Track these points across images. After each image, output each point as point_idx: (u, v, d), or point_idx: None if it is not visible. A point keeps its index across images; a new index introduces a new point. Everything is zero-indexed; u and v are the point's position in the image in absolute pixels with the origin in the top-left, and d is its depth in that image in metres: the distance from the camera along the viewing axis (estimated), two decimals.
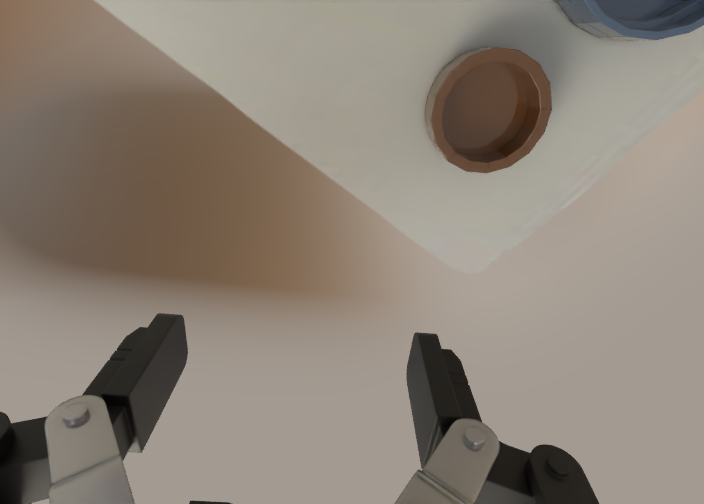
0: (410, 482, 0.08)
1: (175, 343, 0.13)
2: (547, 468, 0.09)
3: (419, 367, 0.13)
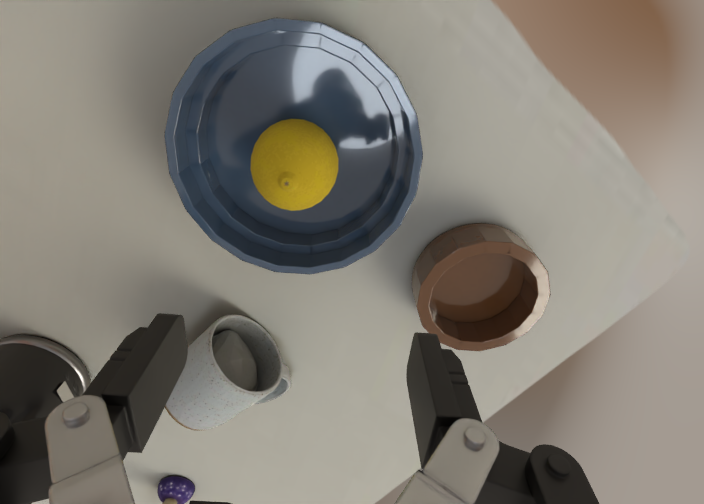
0: (410, 482, 0.08)
1: (175, 343, 0.13)
2: (547, 468, 0.09)
3: (419, 367, 0.13)
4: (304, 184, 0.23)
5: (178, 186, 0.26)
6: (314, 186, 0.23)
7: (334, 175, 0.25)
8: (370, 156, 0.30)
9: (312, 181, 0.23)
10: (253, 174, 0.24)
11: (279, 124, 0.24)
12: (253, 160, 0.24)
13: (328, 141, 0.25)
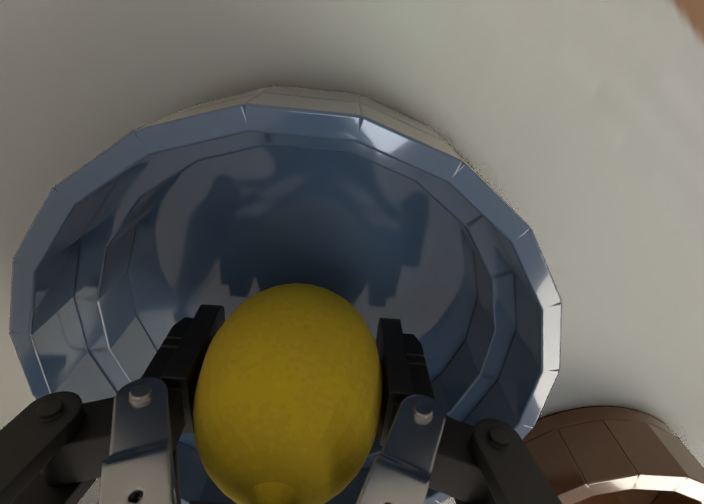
0: (372, 467, 0.08)
1: None
2: (488, 439, 0.10)
3: (381, 350, 0.13)
4: (313, 497, 0.10)
5: None
6: (336, 488, 0.10)
7: (377, 426, 0.11)
8: (430, 317, 0.16)
9: (332, 485, 0.10)
10: (196, 447, 0.10)
11: (257, 327, 0.11)
12: (196, 418, 0.10)
13: (365, 356, 0.11)
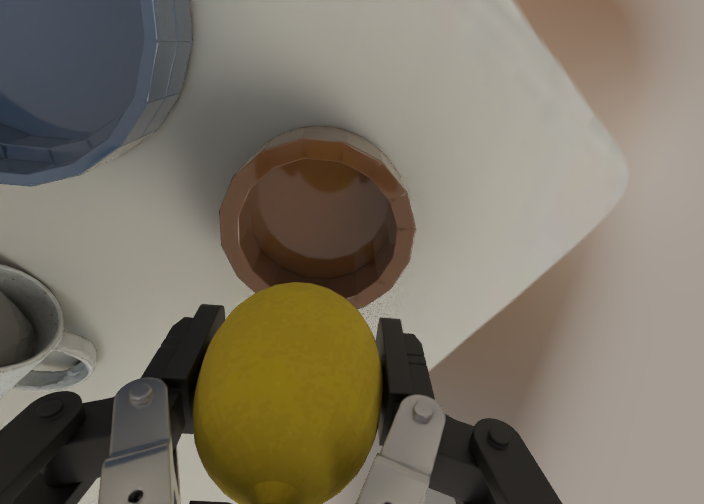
0: (372, 467, 0.08)
1: None
2: (488, 439, 0.10)
3: (381, 350, 0.13)
4: (313, 496, 0.09)
5: None
6: (336, 488, 0.10)
7: (377, 426, 0.11)
8: (126, 6, 0.19)
9: (332, 484, 0.10)
10: (196, 446, 0.10)
11: (257, 326, 0.11)
12: (195, 417, 0.10)
13: (366, 355, 0.11)
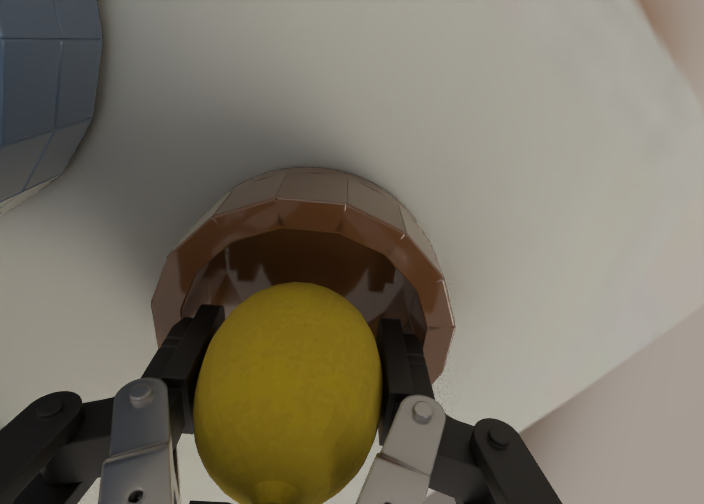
0: (372, 467, 0.08)
1: None
2: (488, 439, 0.10)
3: (381, 350, 0.13)
4: (314, 495, 0.10)
5: None
6: (337, 487, 0.10)
7: (377, 425, 0.11)
8: None
9: (333, 483, 0.10)
10: (196, 445, 0.10)
11: (257, 326, 0.11)
12: (196, 417, 0.10)
13: (366, 354, 0.11)
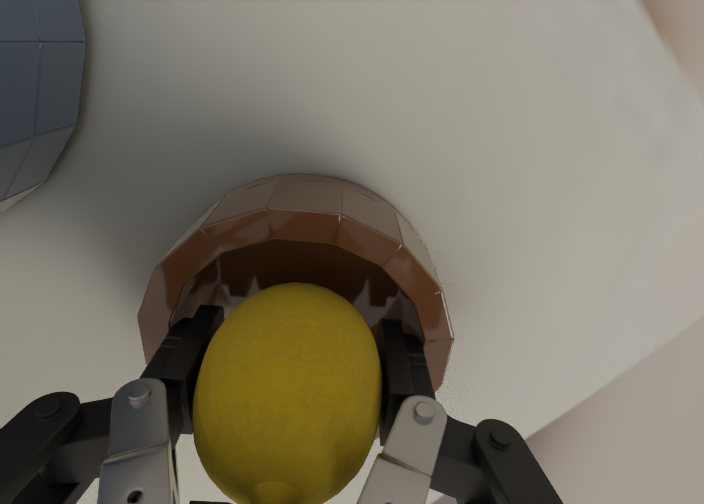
0: (373, 467, 0.08)
1: None
2: (489, 439, 0.10)
3: (382, 350, 0.13)
4: (313, 496, 0.09)
5: None
6: (336, 488, 0.10)
7: (377, 426, 0.11)
8: None
9: (332, 484, 0.10)
10: (195, 446, 0.10)
11: (257, 326, 0.11)
12: (195, 418, 0.10)
13: (365, 355, 0.11)
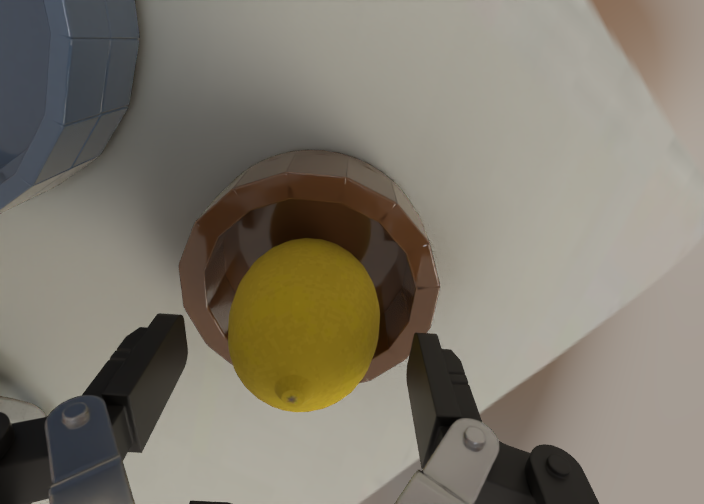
0: (410, 482, 0.08)
1: (175, 343, 0.13)
2: (547, 468, 0.09)
3: (419, 367, 0.13)
4: (324, 391, 0.12)
5: None
6: (342, 388, 0.13)
7: (375, 348, 0.14)
8: None
9: (339, 383, 0.12)
10: (231, 358, 0.13)
11: (279, 265, 0.13)
12: (231, 334, 0.13)
13: (366, 290, 0.14)
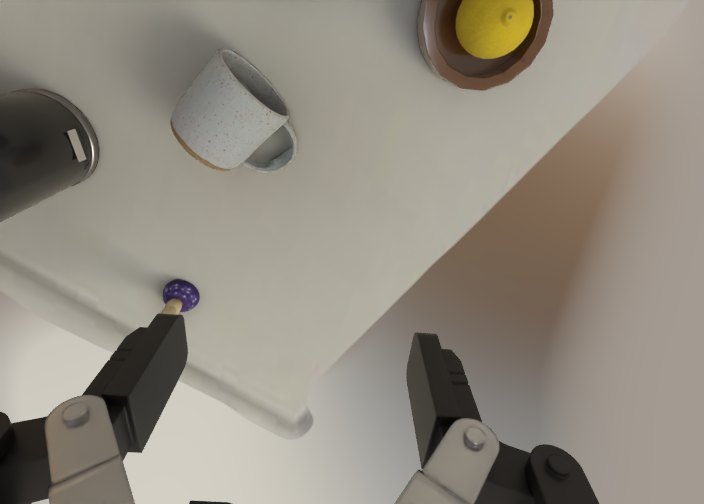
0: (410, 482, 0.08)
1: (175, 343, 0.13)
2: (547, 468, 0.09)
3: (419, 367, 0.13)
4: (520, 21, 0.29)
5: None
6: (525, 25, 0.29)
7: None
8: None
9: (525, 19, 0.29)
10: (472, 17, 0.29)
11: None
12: (474, 5, 0.29)
13: None
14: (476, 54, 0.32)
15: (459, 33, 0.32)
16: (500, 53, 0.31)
